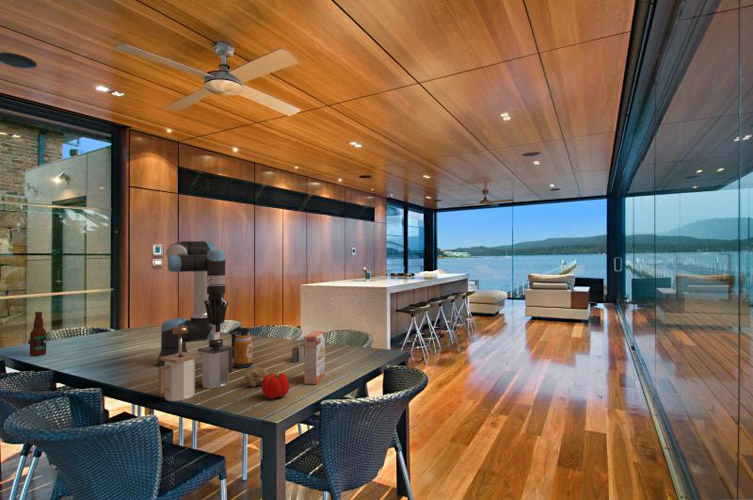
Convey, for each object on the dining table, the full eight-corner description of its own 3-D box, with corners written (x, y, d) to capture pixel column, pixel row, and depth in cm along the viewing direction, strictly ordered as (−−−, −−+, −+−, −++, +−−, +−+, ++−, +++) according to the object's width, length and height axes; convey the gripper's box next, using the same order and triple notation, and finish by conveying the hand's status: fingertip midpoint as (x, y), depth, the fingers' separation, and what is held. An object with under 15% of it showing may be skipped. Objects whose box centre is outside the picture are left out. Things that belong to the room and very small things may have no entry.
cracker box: (317, 385, 172) (317, 336, 173) (303, 384, 173) (303, 336, 174) (325, 375, 186) (325, 330, 187) (313, 375, 187) (312, 330, 188)
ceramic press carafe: (151, 401, 154) (151, 359, 154) (183, 390, 166) (183, 352, 166) (168, 405, 149) (168, 362, 149) (199, 394, 161) (200, 354, 161)
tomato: (256, 399, 155) (256, 377, 155) (273, 391, 165) (273, 369, 165) (279, 403, 151) (279, 380, 151) (295, 394, 161) (295, 372, 161)
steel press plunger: (203, 377, 172) (203, 340, 173) (216, 373, 179) (217, 337, 179) (214, 380, 169) (214, 342, 169) (228, 375, 175) (228, 339, 175)
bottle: (38, 356, 227) (39, 312, 228) (26, 356, 227) (26, 312, 228) (49, 353, 234) (50, 310, 235) (37, 353, 234) (37, 311, 235)
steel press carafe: (197, 386, 172) (197, 349, 172) (223, 378, 183) (223, 343, 184) (213, 390, 166) (213, 351, 167) (239, 381, 178) (239, 345, 179)
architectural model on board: (297, 363, 210) (297, 345, 210) (292, 363, 211) (292, 344, 211) (306, 358, 221) (306, 340, 221) (301, 358, 222) (301, 340, 222)
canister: (246, 369, 198) (246, 328, 199) (226, 368, 201) (226, 328, 201) (255, 364, 207) (255, 325, 208) (236, 363, 209) (236, 325, 210)
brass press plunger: (166, 368, 158) (166, 327, 158) (182, 364, 164) (182, 325, 164) (177, 370, 154) (177, 329, 154) (194, 366, 160) (194, 326, 161)
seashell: (258, 378, 182) (258, 361, 182) (275, 380, 180) (275, 362, 181) (242, 388, 169) (242, 369, 169) (260, 389, 167) (260, 370, 167)
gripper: (198, 285, 175) (198, 339, 174) (219, 286, 168) (218, 342, 168) (213, 284, 181) (213, 336, 181) (233, 285, 175) (233, 339, 174)
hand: (215, 339), depth 174 cm, fingers closed
